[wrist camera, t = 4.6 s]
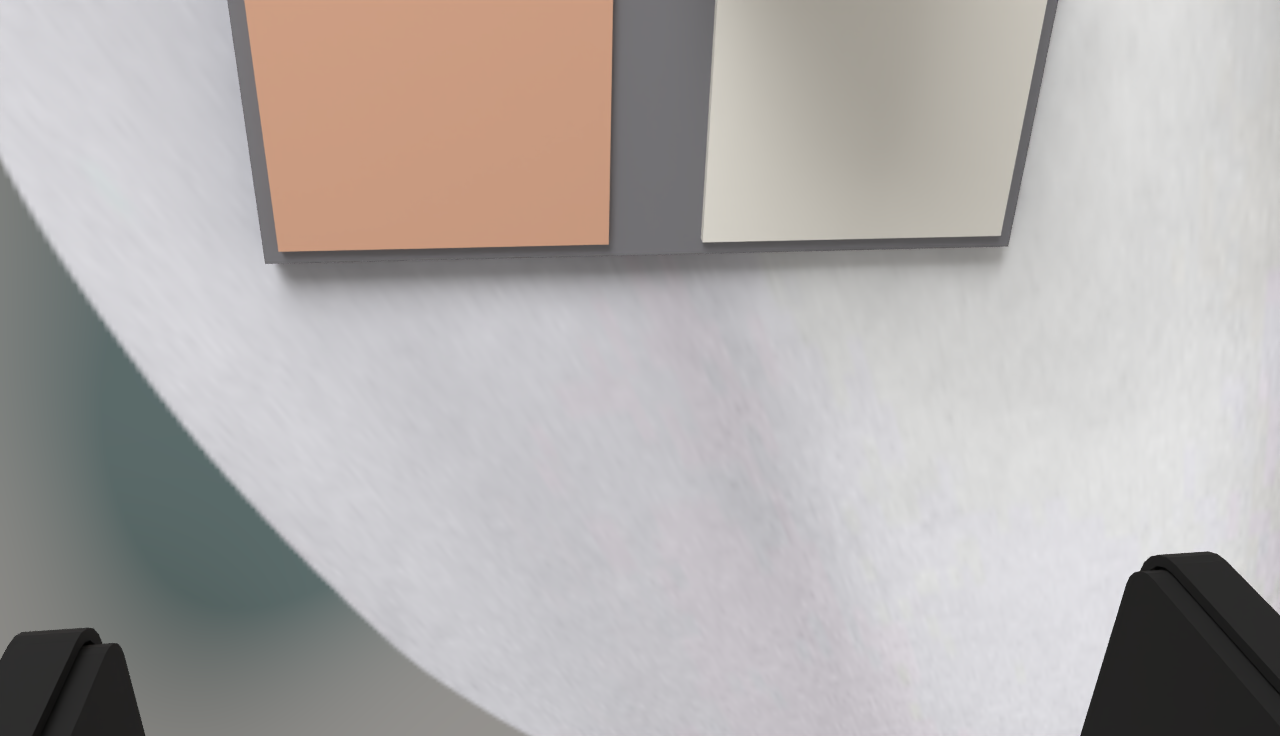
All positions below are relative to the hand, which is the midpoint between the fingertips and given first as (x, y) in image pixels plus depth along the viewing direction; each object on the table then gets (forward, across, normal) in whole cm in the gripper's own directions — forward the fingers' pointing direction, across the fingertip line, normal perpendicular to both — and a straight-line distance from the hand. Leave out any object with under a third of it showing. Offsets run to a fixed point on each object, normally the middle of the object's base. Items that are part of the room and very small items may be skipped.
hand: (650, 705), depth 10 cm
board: (+25, -4, 0) cm, 26 cm away
